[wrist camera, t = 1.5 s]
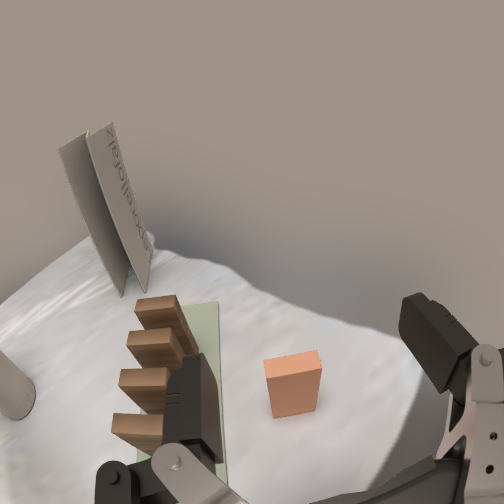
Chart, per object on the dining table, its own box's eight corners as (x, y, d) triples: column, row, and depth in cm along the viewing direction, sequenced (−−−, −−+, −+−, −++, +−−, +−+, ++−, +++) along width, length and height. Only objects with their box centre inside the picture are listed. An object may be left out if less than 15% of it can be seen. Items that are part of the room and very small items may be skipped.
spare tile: (314, 410, 30) (322, 367, 23) (273, 418, 29) (266, 378, 23) (311, 397, 31) (316, 350, 25) (271, 404, 31) (263, 359, 25)
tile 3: (198, 424, 29) (165, 385, 23) (160, 425, 29) (118, 385, 23) (198, 410, 31) (166, 367, 24) (161, 411, 31) (121, 369, 24)
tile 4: (198, 390, 33) (169, 342, 27) (162, 392, 33) (126, 345, 27) (198, 377, 35) (171, 327, 28) (163, 379, 35) (129, 331, 28)
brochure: (146, 293, 50) (87, 137, 33) (120, 298, 50) (57, 149, 32) (152, 250, 62) (112, 121, 44) (131, 255, 61) (87, 130, 44)
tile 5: (198, 359, 37) (173, 306, 31) (165, 362, 37) (134, 311, 31) (198, 348, 39) (175, 294, 32) (166, 351, 39) (137, 299, 32)
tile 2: (199, 461, 25) (161, 435, 19) (158, 460, 25) (111, 431, 19) (198, 446, 27) (162, 414, 20) (159, 446, 27) (113, 413, 20)
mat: (233, 536, 17) (232, 536, 17) (137, 528, 17) (135, 528, 17) (218, 303, 46) (217, 301, 46) (156, 311, 46) (155, 309, 46)
